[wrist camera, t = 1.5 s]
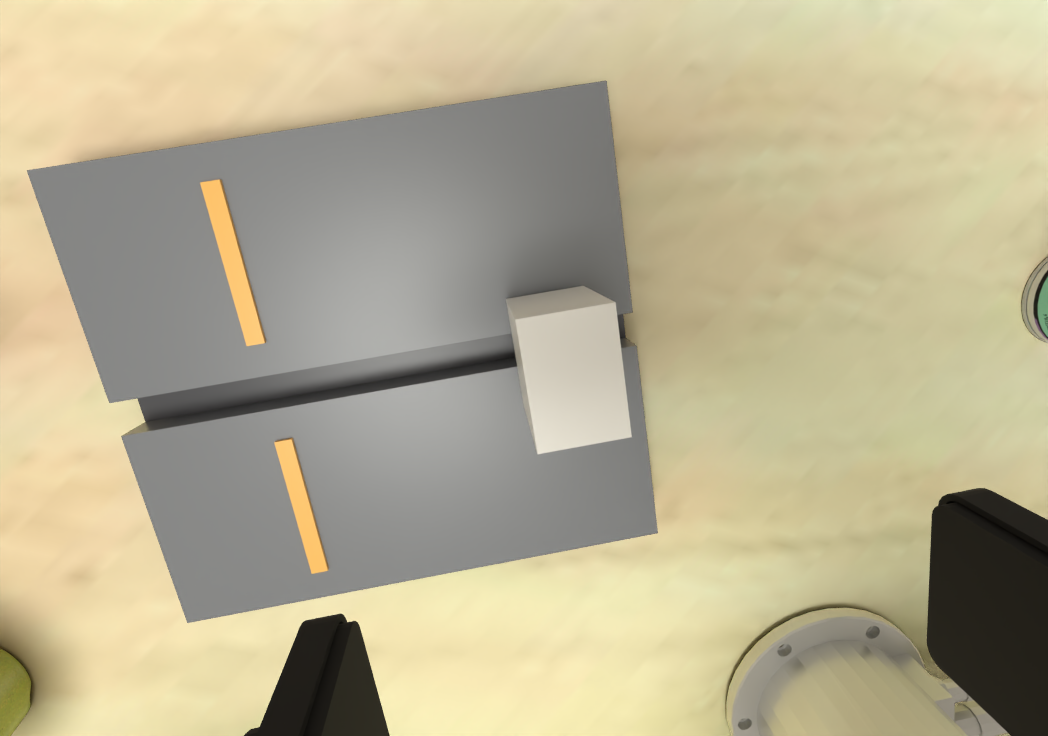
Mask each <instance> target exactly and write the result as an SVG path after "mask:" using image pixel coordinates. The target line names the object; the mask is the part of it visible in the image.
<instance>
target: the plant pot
mask: <svg viewBox="0 0 1048 736" xmlns="http://www.w3.org/2000/svg"><path fill="white" fill-rule="evenodd" d="M30 689H31V680H30V677H29V675H28V673H27V671H26V670H25V669H24V667H23V666H22V665H21V664H20V663H19V662H18V661H17V660H16V659H15V658H14V657H13V656H12V655H10V654H9V653H7V652H6V651H4V650H2V649H0V736H11V734H12V733H13V732H14V730H15V729H16V728H17V726H18V725H19V724H20V722H21V721H22V720H23V718H24V717H25V715H26V714H27V712H28V711H29V709H30V706H31V704H30Z"/></svg>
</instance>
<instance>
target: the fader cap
mask: <svg viewBox="0 0 1048 736" xmlns="http://www.w3.org/2000/svg"><path fill="white" fill-rule="evenodd" d="M506 303H507V309H508V315H509V321H510V327H511V333H512V339H513V345H514V350H515V356H516V362H517V368H518V374H519V380H520V386H521V392H522V398H523V404H524V408H525V412H526V415H527V419H528V422H529V426H530V429H531V433H532V436H533V440H534V444H535V447H536V451H537V454H542V453H548V452H553V451H559V450H564V449H570V448H575V447H581V446H586V445H592V444H597V443H603V442H608V441H613V440H619V439H624V438H630V437H632V435H631V426H630V418H629V410H628V402H627V393H626V385H625V377H624V368H623V360H622V352H621V343H620V335H619V327H618V319H617V310H616V302H614V301H612V300H610V299H608V298H606V297H604V296H602V295H600V294H599V293H597V292H595V291H593V290H591V289H589V288H587V287H585V286H579V287H573V288H567V289H561V290H555V291H549V292H543V293H537V294H532V295H526V296H520V297H514V298H508V299H506Z"/></svg>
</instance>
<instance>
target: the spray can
mask: <svg viewBox="0 0 1048 736" xmlns="http://www.w3.org/2000/svg"><path fill="white" fill-rule="evenodd" d="M1022 314H1023V319H1024V322H1025V324H1026V326H1027V328H1028V330H1029V331H1030V332H1031V333H1032V334H1033V335H1034V336H1035V337H1036V338H1038V339H1039V340H1042V341H1044V342H1046V343H1048V257H1047V258H1046V259H1045V260H1044V261H1043V262H1042V263H1041V264H1040V265H1039V266H1038V267H1037V268H1036V269H1035V271H1034V272H1033V273H1032V275H1031V277H1030V278H1029V280H1028V282H1027V284H1026V287H1025V290H1024V293H1023V298H1022Z"/></svg>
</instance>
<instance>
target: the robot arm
mask: <svg viewBox="0 0 1048 736" xmlns="http://www.w3.org/2000/svg"><path fill="white" fill-rule="evenodd" d="M927 646H928V649H929V652H930V654H931V657H932V658H933V660H934V661H935V663H936V664H937V665H938V667H939V668H940V669H941V670H942V671H943V672H944V673H945V674H947V675H948V676H949V677H950V678H948V679H944V680H940V679H939V678H938V677H935V676H931V675H930V674H929V673H928V672H927V671H926V670H925V665H924V663H923V660H922V658H921V656H920V653H919V651H918V650H917V648H916V647H915V646H914V644H913V643H912V642H911V640H910V639H909V638H908V637H907V636H906V635H905V634H904V633H902V632H901V631H900V630H899V629H898V628H897V627H896V626H895V625H894V624H892V623H891V622H889V621H887V620H886V619H884V618H883V617H881V616H879V615H876V614H873V613H871V612H868V611H865V610H859V609H853V608H828V609H823V610H818V611H813V612H809V613H806V614H803V615H801V616H798V617H795V618H793V619H790V620H789V621H787V622H785V623H783V624H781V625H780V626H778V627H776V628H774V629H773V630H772V631H770V632H769V633H768V634H767V635H765V636H764V637H763V638H762V639H760V640H759V641H758V642H757V643H756V644H755V645H754V646H753V648H752V649H751V650H750V651H749V652H748V653H747V654H746V655H745V657H744V658H743V660H742V662H741V663H740V665H739V666H738V668H737V669H736V671H735V674H734V676H733V678H732V681H731V683H730V686H729V690H728V695H727V701H726V715H727V722H728V725H729V729H730V733H731V735H732V736H997V735H1002V734H1006V733H1009V734H1010V735H1011V736H1048V520H1047V519H1045V518H1043V517H1041V516H1039V515H1037V514H1035V513H1033V512H1031V511H1029V510H1027V509H1026V508H1024V507H1022V506H1020V505H1018V504H1016V503H1014V502H1012V501H1010V500H1008V499H1006V498H1004V497H1002V496H1000V495H998V494H997V493H995V492H993V491H990V490H988V489H985V488H977V489H972V490H967V491H962V492H957V493H951V494H947V495H945V496H943V497H942V498H941V499H940V501H939V504H938V506H937V507H935V508H934V510H933V513H932V527H931V551H930V576H929V601H928V626H927ZM962 701H963V702H962ZM957 702H962V703H958V705H957V706H955V703H957ZM244 736H389V732H388V728H387V725H386V721H385V717H384V714H383V710H382V706H381V703H380V699H379V695H378V692H377V688H376V684H375V681H374V677H373V673H372V670H371V666H370V662H369V659H368V655H367V651H366V648H365V644H364V641H363V637H362V633H361V630H360V627H359V624H358V623H357V622H356V621H353V622H348V623H347V620H346V618H345V617H344V615H343V614H337V615H332V616H326V617H321V618H316V619H311V620H306V621H304V622H303V623H302V625H301V626H300V628H299V631H298V633H297V636H296V638H295V641H294V643H293V646H292V648H291V651H290V653H289V656H288V658H287V661H286V663H285V666H284V668H283V671H282V673H281V676H280V678H279V681H278V683H277V685H276V688H275V690H274V693H273V695H272V698H271V700H270V703H269V705H268V708H267V710H266V713H265V715H264V718H263V720H262V723H261V725H260V727H259V728H254V729H250V730H249V731H248V732H247V733H246V734H245V735H244Z"/></svg>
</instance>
